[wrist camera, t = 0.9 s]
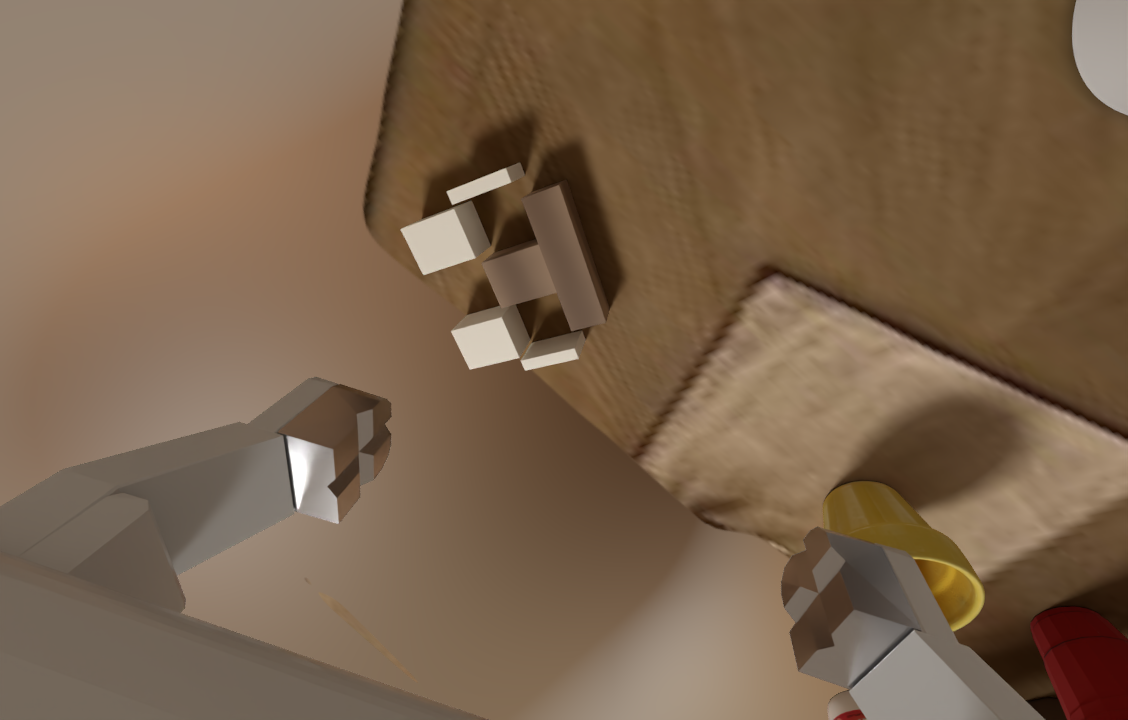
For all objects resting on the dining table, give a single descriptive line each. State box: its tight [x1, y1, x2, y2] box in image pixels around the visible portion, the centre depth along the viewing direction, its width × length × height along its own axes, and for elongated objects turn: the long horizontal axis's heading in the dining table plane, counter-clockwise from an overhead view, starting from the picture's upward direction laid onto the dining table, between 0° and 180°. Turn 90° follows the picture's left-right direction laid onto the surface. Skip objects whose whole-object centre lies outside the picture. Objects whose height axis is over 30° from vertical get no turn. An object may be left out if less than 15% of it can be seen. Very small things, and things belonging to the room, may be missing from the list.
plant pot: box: [823, 481, 985, 631], centre depth 40 cm, size 10×10×10 cm
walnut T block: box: [482, 179, 610, 331], centre depth 38 cm, size 8×11×3 cm
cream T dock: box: [401, 163, 586, 370], centre depth 39 cm, size 10×16×4 cm, turn 20°
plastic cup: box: [1030, 606, 1128, 720], centre depth 41 cm, size 11×11×12 cm
